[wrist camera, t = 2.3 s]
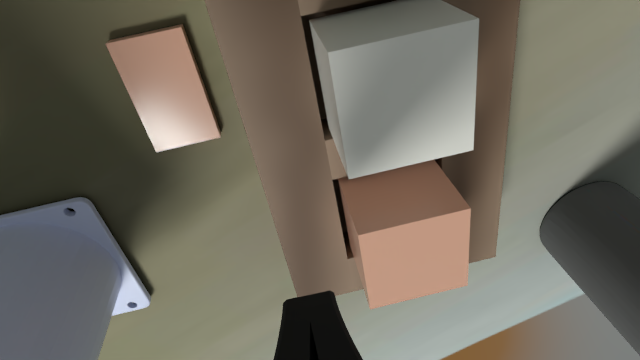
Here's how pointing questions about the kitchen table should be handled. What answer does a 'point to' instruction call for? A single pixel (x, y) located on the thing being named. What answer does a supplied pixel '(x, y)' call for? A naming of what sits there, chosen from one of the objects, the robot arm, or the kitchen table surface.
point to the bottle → (600, 250)
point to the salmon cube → (407, 232)
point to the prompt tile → (165, 87)
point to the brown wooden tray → (317, 142)
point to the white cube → (398, 82)
